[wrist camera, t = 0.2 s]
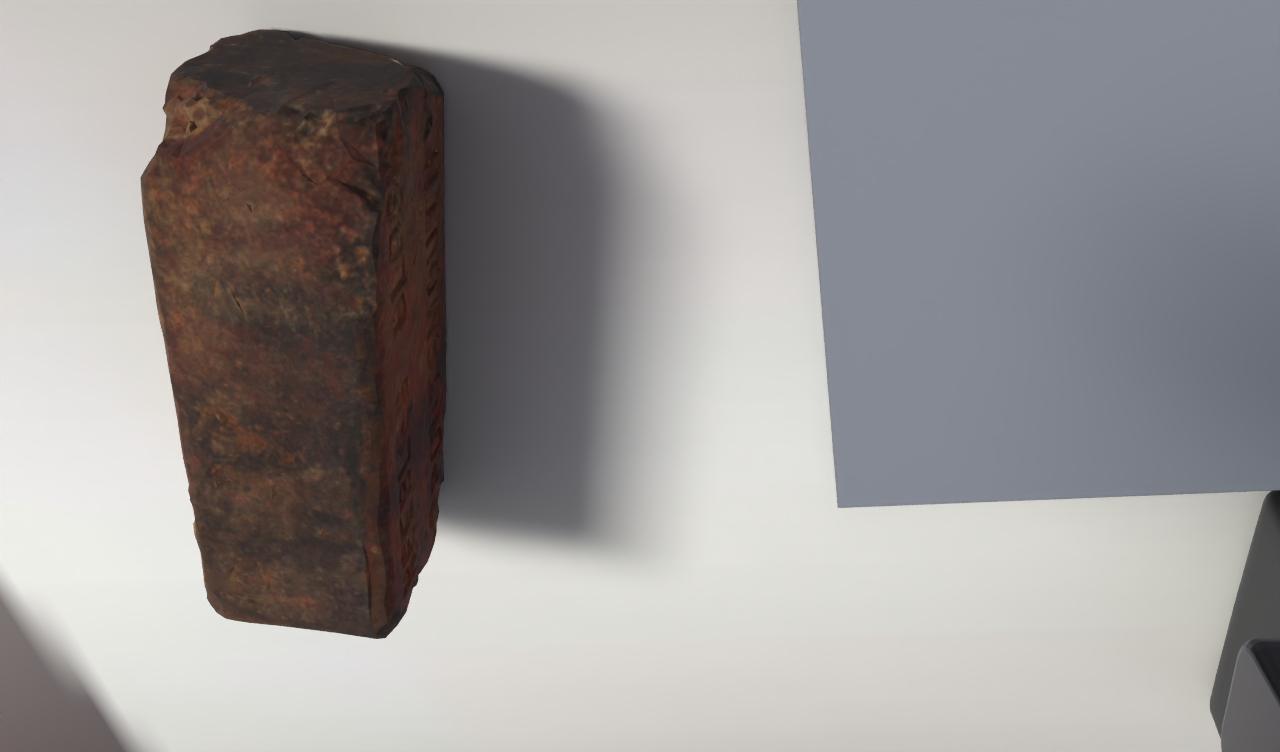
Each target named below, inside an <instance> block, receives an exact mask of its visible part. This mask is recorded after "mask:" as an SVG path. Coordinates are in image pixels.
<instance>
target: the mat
mask: <svg viewBox="0 0 1280 752" xmlns="http://www.w3.org/2000/svg"><path fill="white" fill-rule="evenodd" d="M797 7H798V19H799V31H800V44H801V56H802V69H803V81H804V93H805V106H806V118H807V131H808V143H809V156H810V168H811V180H812V193H813V205H814V218H815V230H816V243H817V255H818V267H819V280H820V292H821V305H822V317H823V330H824V342H825V354H826V367H827V379H828V392H829V404H830V416H831V429H832V441H833V454H834V466H835V479H836V491H837V503H838V508H847V507H872V506H897V505H922V504H947V503H972V502H997V501H1022V500H1047V499H1072V498H1097V497H1122V496H1147V495H1172V494H1197V493H1222V492H1247V491H1272V490H1280V0H797Z"/></svg>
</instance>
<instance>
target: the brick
mask: <svg viewBox="0 0 1280 752" xmlns="http://www.w3.org/2000/svg"><path fill="white" fill-rule="evenodd" d="M162 109H163V110H164V112H165V113H166V115H167V118H166V129H165V133H164V137H163V142H162V143H161V144H160V145H159V146H158V148H157V151H156V154H155V155H154V157H153V158H152V159H151V161H150V162H149V164H148V166H147V167H146V169H145V171H144V173H143V174H142V176H141V191H142V205H143V216H144V224H145V230H146V237H147V243H148V249H149V256H150V262H151V268H152V274H153V280H154V287H155V295H156V303H157V309H158V315H159V320H160V324H161V328H162V332H163V337H164V341H165V348H166V354H167V361H168V367H169V373H170V378H171V384H172V389H173V395H174V402H175V407H176V413H177V419H178V426H179V433H180V440H181V447H182V453H183V459H184V464H185V468H186V473H187V477H188V482H189V489H188V491H189V495H190V501H191V503H192V506H193V509H194V515H195V522H194V524H193V525H194V534H195V537H196V540H197V543H198V546H199V549H200V551H201V559H202V567H203V575H204V583H205V588H206V591H207V599H208V601H209V602H210V604H211V606H212V607H213V608H214V609H215V611H216V612H217V613H218V614H220V615H221V616H223V617H224V618H226V619H231V620H235V621H242V622H249V623H258V624H268V625H278V626H286V627H295V628H303V629H311V630H319V631H327V632H335V633H342V634H348V635H355V636H361V637H368V638H375V639H380V638H386V637H387V636H388V635H389V634H390V633H391V632H392V630H393V629H394V628H395V627H396V626H397V625H398V623H399V622H400V620H401V619H402V617H403V616H404V614H405V613H406V611H407V607H408V604H409V600H410V597H411V593H412V589H413V587H415V586H416V585H417V582H418V575H419V573H420V572H421V571H422V569H423V568H424V566H425V565H426V563H427V562H428V559H429V557H430V554H431V551H432V548H433V545H434V542H435V536H436V523H437V519H438V514H439V507H438V495H439V487H440V485H441V483H442V482H443V481H444V472H443V450H442V446H443V425H444V415H445V403H446V390H447V388H446V346H447V343H446V305H445V235H444V92H443V91H442V89H441V87H440V85H439V84H438V82H437V80H436V78H435V77H434V76H433V75H432V74H430V73H429V72H427V71H425V70H423V69H421V68H416V67H414V66H405V65H402V64H401V63H400V62H398V61H397V60H394V59H391V58H389V57H388V56H387V55H378V54H376V53H375V52H368V51H364V50H360V49H355V48H350V47H345V46H340V45H335V44H330V43H325V42H323V41H320V40H308V39H306V38H304V37H301V38H300V39H298V40H294V39H293V38H292V37H291V36H289V34H288V32H285V31H275V30H255V31H251V32H248V33H245V34H242V35H236V36H230V37H225V38H221V39H220V40H218V41H217V42H216V43H214V44H213V45H211V46H210V50H209V51H208V52H206V53H204V54H202V55H200V56H197V57H195V58H192V59H190V60H188V61H186V62H184V63H183V64H182V65H181V66H180V67H178V68H177V69H176V70H175V71H174V72H173V73H172V74H171V77H170V80H169V84H168V87H167V91H166V96H165V104H164V106H163V108H162Z"/></svg>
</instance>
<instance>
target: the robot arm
mask: <svg viewBox="0 0 1280 752" xmlns="http://www.w3.org/2000/svg"><path fill="white" fill-rule="evenodd" d="M1221 749H1222V752H1280V639H1260V638H1257V639H1252V640H1249V641H1247V642H1246V643H1244V644H1243V646H1242V647H1241V649H1240V651H1239V653H1238V656H1237V660H1236V665H1235V669H1234V674H1233V679H1232V683H1231V688H1230V692H1229V697H1228V701H1227V706H1226V710H1225V715H1224V720H1223V724H1222V732H1221Z"/></svg>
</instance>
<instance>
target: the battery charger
mask: <svg viewBox="0 0 1280 752" xmlns="http://www.w3.org/2000/svg"><path fill="white" fill-rule="evenodd" d="M1257 638H1260V639H1280V490H1273V491H1271V492H1270V493H1269V494H1268V495H1267V496H1266V498H1265V500H1264V502H1263V505H1262V509H1261V512H1260V516H1259V519H1258V522H1257V526H1256V529H1255V533H1254V536H1253V540H1252V543H1251V547H1250V550H1249V554H1248V557H1247V561H1246V565H1245V568H1244V572H1243V575H1242V579H1241V583H1240V586H1239V590H1238V593H1237V597H1236V601H1235V604H1234V608H1233V612H1232V616H1231V620H1230V623H1229V627H1228V631H1227V635H1226V639H1225V643H1224V647H1223V651H1222V654H1221V658H1220V662H1219V666H1218V670H1217V674H1216V678H1215V682H1214V687H1213V691H1212V695H1211V699H1210V711H1211V714H1212V716H1213V719H1214V722H1215V724H1216V727H1217V730H1218V733H1219V735H1220V738H1221V732H1222V724H1223V720H1224V715H1225V710H1226V706H1227V701H1228V697H1229V692H1230V688H1231V683H1232V679H1233V674H1234V669H1235V665H1236V660H1237V656H1238V653H1239V651H1240V649H1241V647H1242V646H1243V644H1244V643H1246V642H1247V641H1249V640H1252V639H1257Z"/></svg>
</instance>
